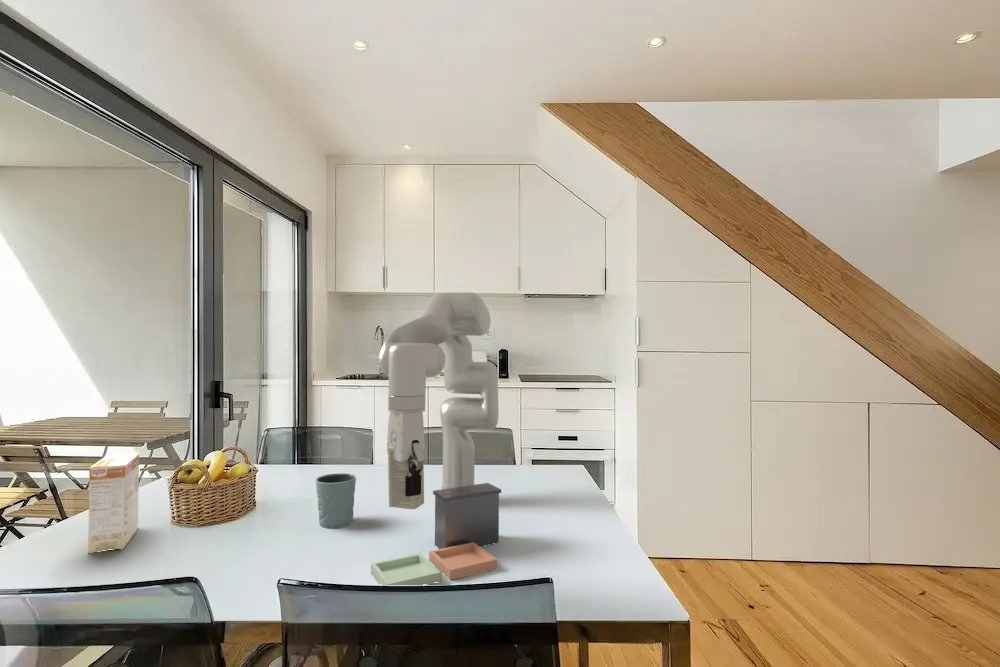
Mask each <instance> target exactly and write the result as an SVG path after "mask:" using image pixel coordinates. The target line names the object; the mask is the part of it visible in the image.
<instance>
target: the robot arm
mask: <svg viewBox="0 0 1000 667" xmlns="http://www.w3.org/2000/svg"><path fill="white" fill-rule="evenodd" d="M490 314H491V313H490V310H489V309H488V307H487V305H486V304H485V302H484V300H483V299H482V298H481V297H480V295H478V294H476V293H474V292H440V293H436V294H435V295H433V296H432V297H431V298H430V299H429V301H428V302H427V305H426V306H425V308H424V310H423V311H422V314H421V315H420V316H419V317H418V318H415V319H413V320H411V321H409V322H406V323H405V324H403V325H401V326H399V327H396V328H395V329H394V330H392V331H391V332H390V333H389V335H388V336H387V338H386V339H385V341H384V342H383V344H382V347H381V348H380V351H379V355H378V357H379V358H378V366H379V369H380V371H381V372H382V374H384V375H386V376H388V393H387V394H388V395H387V396H388V403H387V404H388V406H387V407H388V408H387V409H388V410H387V411H388V412H389V417H388V423H387V424H388V426H387V440H386V442H387V443H386V453H387V455H388V448H389V447H392V448H393V449H394V450H393V459H395V460H396V461H398V462H400V463H404V461H405V465H406V471H407V476H405V496H407V497H409V496H416V495H420V494H421V475H422V468H423V467H422V466H423V464H424V462H425V457H424V456H425V427H424V426H425V425H424V415H423V414H424V412H426V390H427V389H426V388H427V387H426V385H427V383H426V379H427V378H434V377H436V376H438V375H439V374H440V373H441V372H442V371H443V378H444V379H443V382H444V387H445V389H446V391H448V392H449V393H452V394H464V395H480V396H481V397H471V396H469V397H466V396H465V397H463V396H461V397H460V396H455V397H449V398H448V397H447V399H445V400H443V401H442V403H441V405H440V408H439V416H440V422H441V429H442V430H441V431H442V486H441V490H442V489H449V488H456V487H462V486H469V485H475V457H476V456H475V452H476V451H475V445H476V444H475V441H474V440H473V438H472V436H471V435H470V433H469V432H468V430H469V431H470V430H474V431H477V430H478V431H491V430H493V429H495V428H496V427H497V425H498V423H499V417H500V416H499V412H500V410H499V379H498V371H497V368H496V366H495V364H493V363H492V362H487V361H474V360H473V347H472V345H473V344H472V343H471V341H470V339H469V337H470V336H471V337H472V336H473V337H474V336H476V337H477V336H479V337H480V336H484V335H486V334H487V333H489V330H490V327H491V323H492V322H491V315H490ZM467 336H469V337H467ZM439 345H441V346H442V347H441V346H439ZM412 452H413V454H414V457H415V459H411V460H408V458H410V457H411V456H412ZM413 463H415V464H413ZM410 464H413V465H412V467H410Z"/></svg>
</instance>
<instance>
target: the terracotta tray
mask: <svg viewBox="0 0 1000 667" xmlns="http://www.w3.org/2000/svg"><path fill="white" fill-rule="evenodd" d="M428 556H429V557H428V560H429V561H431V562H432V563H433V564H434V565H435V567H436V568H437V569H438V570H439V571H440V572H441V574H443V573H444V574H445V575H444V574H443V575H444V577H446V576H447V577H448V578H449V579H450V580H449V579H448V578H447V577H446V578H447V579H448V580H449V581H451V579H453V580H456V579H455V578H457V579H461V578H464V577H468V576H467V575H469V576H472V575H471V574H473V575H477V574H476V573H478V574H481V573H480V572H482V573H485V572H484V571H486V572H489V571H488V570H490V571H493V570H492V569H494V570H497V569H498V558H496V557H495V556H493V555H492V554H491V553H490V552H488V550H485V549H484V548H482V546H481V547H480V546H478V545H477V544H476V543H474V542H472V543H467V544H463V545H458V546H453V547H448V548H443V549H439V548H438V549H435V550H434V549H433V550H429V551H428ZM496 568H497V569H496ZM460 577H461V578H460Z"/></svg>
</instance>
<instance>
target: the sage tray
mask: <svg viewBox="0 0 1000 667" xmlns="http://www.w3.org/2000/svg"><path fill="white" fill-rule="evenodd" d="M370 574H371V575H372V576H374V577H373V578H374V580H376V583H378V585H379V584H382V585H423V584H432V585H435V584H437V583H434V582H440V581H441V582H442V572H441V571H440V570H439V569H438V568H437V567H436V566H434V565H433V564H432V563H431V562H430V561H429V559H428V558H426V556H424V554H422V553H421V552H419V553H415V554H410V555H405V556H400V557H396V558H390V559H385V560H381V561H380V560H379V561H376V562H371V563H370ZM441 582H440V583H441Z"/></svg>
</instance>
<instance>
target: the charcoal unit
mask: <svg viewBox="0 0 1000 667" xmlns="http://www.w3.org/2000/svg"><path fill="white" fill-rule="evenodd" d="M500 494H502V489H501V488H499V487H497V486H495V485H493V484H490V483H489V482H484V483H477V484H474V485H469V486H462V487H456V488H449V489H442V488H441V489H436V490H433V491H432V495H433V496H434V546H435V547H436V546H437V547H438V549H443V548H448V547H453V546H458V545H463V544H467V543H472V542H474V543H476V544H477V545H478V546H481V547H485V546H484V545H486V546H489V545H488V544H491V545H494V544H493V543H495V544H499V543H498V542H500V541H499V539H500V538H499V537H500V536H499V535H500V533H499V532H500V531H499V529H500V528H499V527H500V522H499V521H500V520H499V519H500V515H499V512H500ZM437 547H436V548H437Z"/></svg>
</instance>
